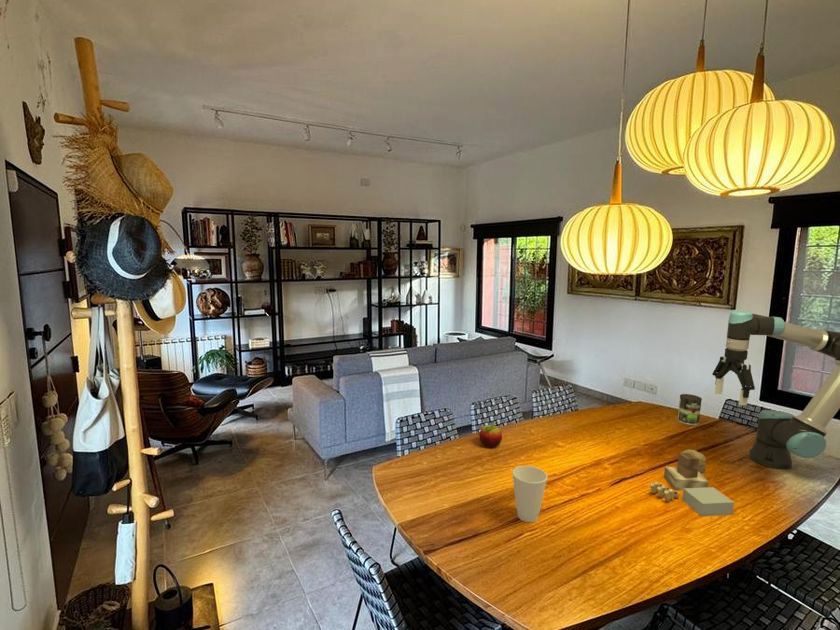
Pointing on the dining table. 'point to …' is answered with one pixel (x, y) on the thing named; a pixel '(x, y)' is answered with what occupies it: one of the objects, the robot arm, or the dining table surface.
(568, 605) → the dining table surface
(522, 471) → the cup
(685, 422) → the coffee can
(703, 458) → the coral
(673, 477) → the pale oak block
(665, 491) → the ammunition
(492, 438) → the fruit
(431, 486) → the dining table surface
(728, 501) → the grey painted block
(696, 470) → the walnut block
